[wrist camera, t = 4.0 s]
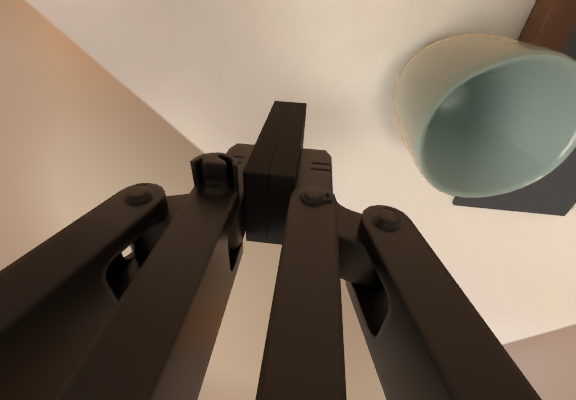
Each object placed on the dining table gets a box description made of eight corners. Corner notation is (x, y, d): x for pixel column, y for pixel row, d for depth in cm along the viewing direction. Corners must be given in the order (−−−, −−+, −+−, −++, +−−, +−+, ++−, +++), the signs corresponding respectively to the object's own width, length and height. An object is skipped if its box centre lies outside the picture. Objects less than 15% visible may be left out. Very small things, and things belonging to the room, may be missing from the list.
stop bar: (453, 176, 27) (461, 186, 25) (560, -50, 17) (581, -53, 16) (475, 178, 27) (484, 188, 25) (594, -48, 17) (619, -51, 16)
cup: (487, 118, 23) (572, 185, 15) (388, 140, 25) (418, 210, 17) (498, 8, 19) (624, 23, 11) (378, 45, 21) (412, 80, 13)
